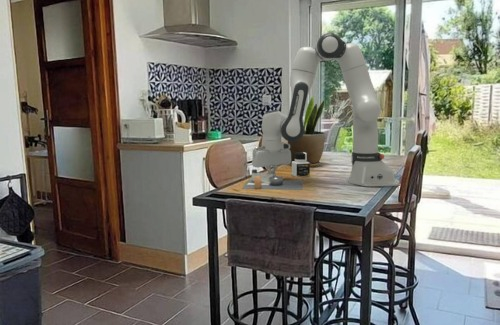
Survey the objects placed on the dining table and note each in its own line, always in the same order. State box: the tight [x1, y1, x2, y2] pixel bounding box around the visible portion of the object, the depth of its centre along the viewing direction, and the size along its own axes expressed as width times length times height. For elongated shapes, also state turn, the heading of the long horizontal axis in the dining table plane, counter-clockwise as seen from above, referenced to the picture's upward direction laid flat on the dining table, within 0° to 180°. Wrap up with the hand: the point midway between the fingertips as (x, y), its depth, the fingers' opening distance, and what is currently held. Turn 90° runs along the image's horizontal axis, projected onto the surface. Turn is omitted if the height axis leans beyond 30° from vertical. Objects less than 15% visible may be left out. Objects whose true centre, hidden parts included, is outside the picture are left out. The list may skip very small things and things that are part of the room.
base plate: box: [241, 176, 304, 191], centre depth 192 cm, size 26×20×6 cm
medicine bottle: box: [291, 152, 311, 178], centre depth 216 cm, size 7×7×12 cm
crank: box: [251, 168, 284, 185], centre depth 195 cm, size 16×6×5 cm, turn 51°
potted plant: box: [287, 95, 326, 168], centre depth 245 cm, size 21×22×40 cm
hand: (271, 174), depth 200 cm, fingers closed
